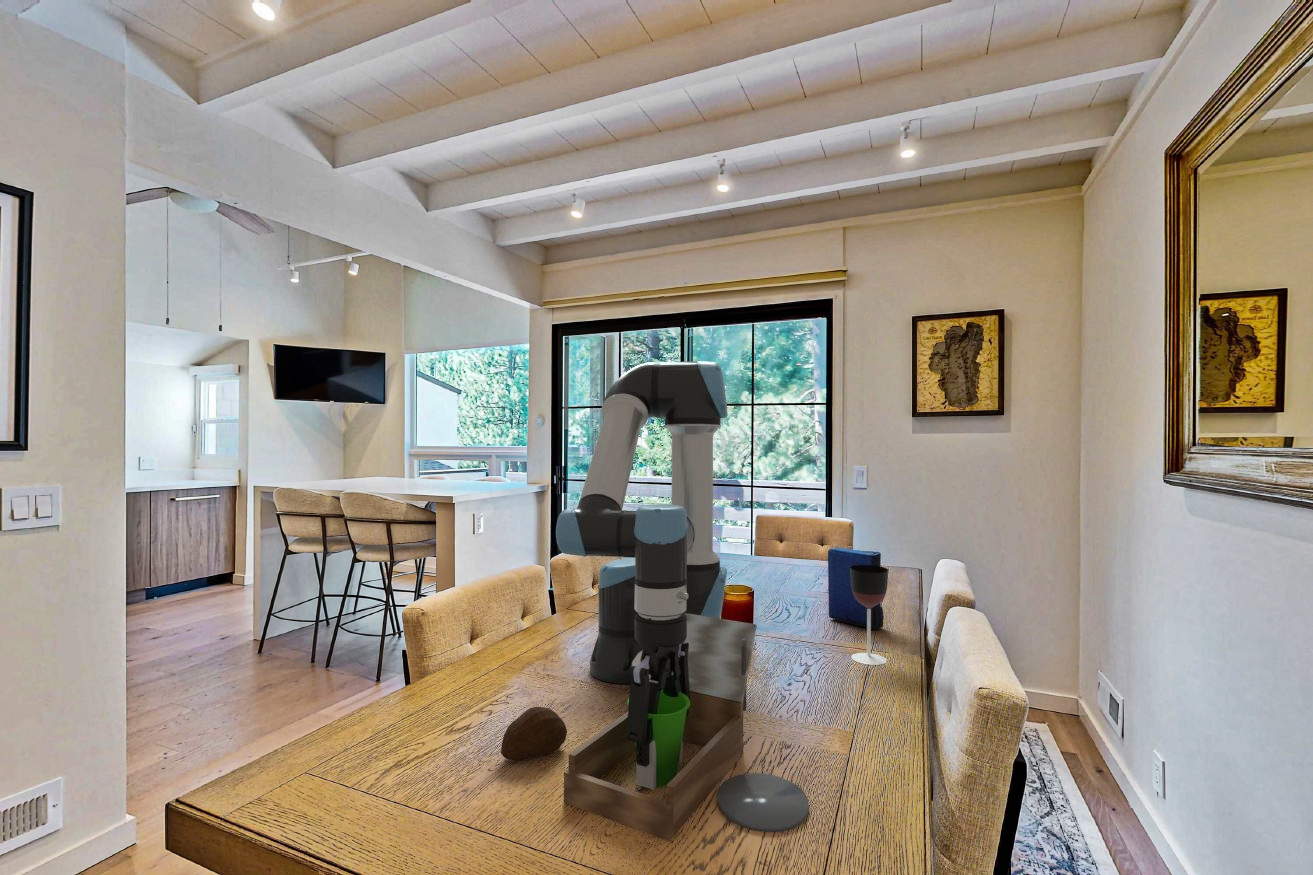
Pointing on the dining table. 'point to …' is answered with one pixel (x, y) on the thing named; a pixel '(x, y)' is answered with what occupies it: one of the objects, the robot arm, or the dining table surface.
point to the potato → (533, 735)
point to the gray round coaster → (762, 802)
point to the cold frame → (710, 723)
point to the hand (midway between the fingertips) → (660, 771)
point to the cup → (668, 735)
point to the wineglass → (869, 601)
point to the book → (841, 591)
